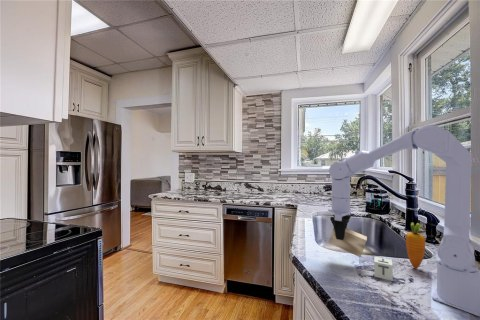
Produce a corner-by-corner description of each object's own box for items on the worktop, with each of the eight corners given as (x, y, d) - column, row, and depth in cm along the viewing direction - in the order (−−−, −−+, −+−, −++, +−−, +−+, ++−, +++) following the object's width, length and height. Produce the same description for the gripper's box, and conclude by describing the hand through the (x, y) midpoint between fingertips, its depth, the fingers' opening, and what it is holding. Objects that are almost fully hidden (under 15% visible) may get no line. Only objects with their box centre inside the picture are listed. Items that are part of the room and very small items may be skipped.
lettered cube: (391, 274, 68) (391, 259, 68) (392, 281, 64) (392, 265, 64) (374, 270, 70) (374, 255, 70) (374, 277, 66) (374, 261, 66)
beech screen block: (361, 253, 73) (366, 236, 73) (360, 257, 70) (366, 240, 69) (330, 239, 78) (335, 223, 78) (328, 242, 75) (333, 226, 74)
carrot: (406, 263, 75) (406, 219, 75) (425, 268, 71) (425, 222, 72) (405, 269, 71) (405, 222, 71) (425, 274, 68) (425, 225, 68)
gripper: (331, 193, 83) (331, 229, 83) (324, 199, 71) (324, 241, 71) (352, 195, 80) (352, 233, 79) (348, 201, 67) (348, 246, 67)
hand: (340, 237), depth 75 cm, fingers closed on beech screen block, 4 cm apart
